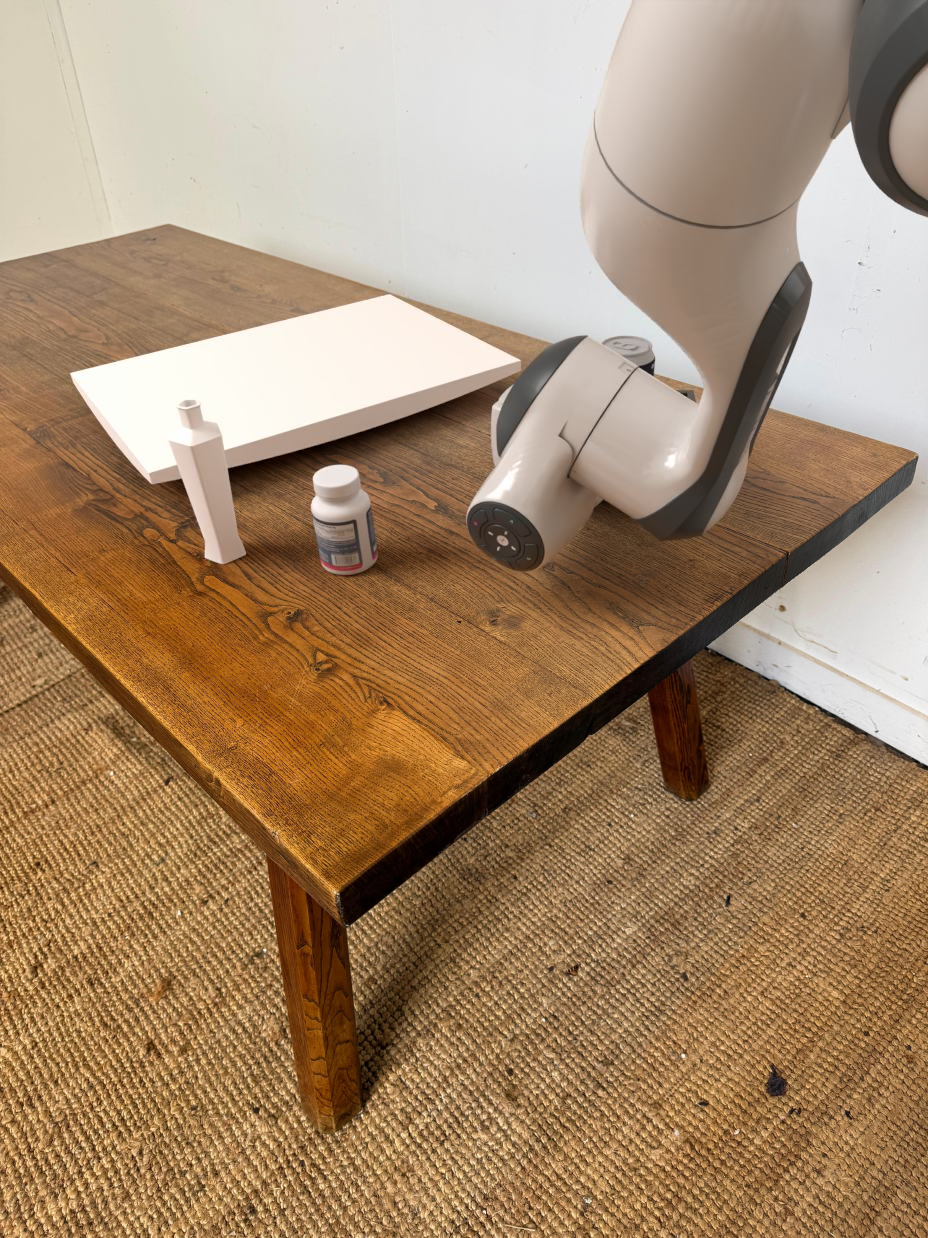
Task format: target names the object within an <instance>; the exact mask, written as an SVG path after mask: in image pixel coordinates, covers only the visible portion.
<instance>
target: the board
mask: <svg viewBox="0 0 928 1238" xmlns="http://www.w3.org/2000/svg"><path fill="white" fill-rule="evenodd" d="M521 371H522V360H521V359H519V358H517V357H515V356H513V355H512V354H510V353H507V352H505V351H503V350H501V349H500V348H498V347H496V346H493V345H491V344H489V343H487V342H485V341H484V340H482V339H479V338H478V337H476V336H474V335H472V334H470V333H468V332H466V331H463V330H462V329H460V328H458V327H455V326H454V325H451V324H450V323H449V322H445V321H444V320H442V319H440V318H438V317H435V316H434V315H432V314H430V313H428V312H426V311H425V310H422V309H420V308H418V307H416V306H414V305H412V304H410V303H408V302H407V301H405V300H402V299H400V298H398V297H396V296H394V295H392V294H390V293H389V294H385V295H380V296H377V297H372V298H369V299H365V300H364V299H363V300H361V301H356V302H352V303H348V304H343V305H340V306H337V307H332V308H328V309H324V310H320V311H316V312H312V313H308V314H304V315H299V316H296V317H295V316H294V317H291V318H287V319H284V320H279V321H275V322H272V323H271V322H270V323H268V324H263V325H259V326H255V327H251V328H247V329H242V330H239V331H235V332H231V333H227V334H223V335H222V334H221V335H219V336H214V337H210V338H206V339H202V340H199V341H195V342H191V343H186V344H182V345H178V346H174V347H169V348H166V349H161V350H158V351H154V352H150V353H147V354H146V353H145V354H141V355H138V356H133V357H129V358H126V359H125V358H124V359H121V360H118V361H113V362H110V363H105V364H101V365H97V366H93V367H89V368H85V369H80V370H77V371H74V372H69V374H70V377H71V380H72V382H73V384H74V386H75V388H76V389H77V391H78V393H79V395H80V396H81V397H82V398H83V400H84V401H85V403H86V405H87V406H88V408H89V409H90V411H91V412H92V414H93V415H94V417H95V418H96V419H97V421H98V422H99V424H100V425H101V426H102V428H103V429H104V431H105V432H106V433H107V434H108V436H109V438H111V440H112V441H113V443H115V445H116V446H117V447H118V449H119V451H120V452H121V453H123V455H124V456H125V457H126V458H127V460H128V461H129V462H130V463H131V464H132V465H133V467H134V468H135V469H136V470H137V471H138V472H139V473H140V474H141V475H142V477H144V478H145V479H146V480H147V481H148V482H149V484H151V485H156V484H161V483H167V482H171V481H176V480H180V479H181V480H182V477H181V474H180V471H179V469H178V466H177V463H176V460H175V458H174V455H173V452H172V449H171V447H170V444H169V441H168V438H169V437H170V436H171V435H172V434H174V433H175V432H176V431H177V430H178V429H179V428H180V427H181V426H182V423H181V420H180V416H179V412H178V409H177V408H176V407H175V405H176V404H177V403H179V402H180V401H181V400H183V399H195V398H198V399H199V400H200V402H201V405H200V408H201V412H202V416H203V420H204V421H210V422H216V423H217V424H218V426H219V429H220V431H221V434H222V439H223V445H224V451H225V457H226V463H227V469H230V468H234V467H239V466H243V465H246V464H247V465H248V464H251V463H255V462H259V461H262V460H266V459H271V458H274V457H278V456H282V455H286V454H289V453H294V452H297V451H300V450H304V449H307V448H311V447H314V446H318V445H321V444H326V443H329V442H332V441H336V440H338V439H341V438H346V437H348V436H352V435H355V434H357V433H360V432H365V431H367V430H370V429H373V428H376V427H379V426H382V425H385V424H388V423H391V422H394V421H397V420H400V419H403V418H406V417H409V416H411V415H414V414H417V413H420V412H423V411H425V410H428V409H430V408H434V407H436V406H439V405H441V404H444V403H446V402H447V403H448V402H449V401H453V400H454V399H457V398H459V397H462V396H464V395H467V394H470V393H471V392H474V391H477V390H480V389H481V388H484V387H487V386H489V385H491V384H494V383H496V382H499V381H502V380H503V379H505V378H508V377H510V376H512V375H514V374H517V373H519V372H521Z"/></svg>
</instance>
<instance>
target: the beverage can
mask: <svg viewBox="0 0 928 1238" xmlns="http://www.w3.org/2000/svg"><path fill="white" fill-rule="evenodd" d="M600 343H601V344H603V345H605V346H606V347H608V348H610V349H611V350H613V351H615V352H616V353H618V354H619V355H621V356H623V357H624V358H626V359H627V360H629V361H631V362H632V363H634V364H635V365H637V366H638V367H639V368H640V369H642V370H644V371H645V372H647V373H649V374H650V375H652V376H653V377H655V366H656V355H655V353H654V351H653V344H652V342H651V341H650V340H649V339H647V338H644V337H641V336H635V335H616V336H611V337H608V338H606V339H604V340H603V341H602V342H600Z"/></svg>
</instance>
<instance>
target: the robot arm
mask: <svg viewBox="0 0 928 1238" xmlns="http://www.w3.org/2000/svg"><path fill="white" fill-rule="evenodd" d="M849 124H850V125H851V130H852V135H853V140H854V144H855V146H856V150H857V152H858V155H859V158H860V161H861V164H862V166H863V167H864V169H865V171H866V173H867V175H868V177H869V178H870V179H871V181H872V182H873V184H875V186H876V187H877V188H878V189H879V190H880V191H881V192H882V193H883V194H884V195H885V196H886V197H887V198H889V199H890V200H892V201H893V202H894V203H895V204H897V205H899V206H901V207H902V208H904V209H906V210H908V211H909V212H912V213H914V214H917V215H920V216H922V217H925V218H928V0H631V3H630V6H629V8H628V10H627V13H626V15H625V18H624V21H623V23H622V25H621V28H620V31H619V33H618V36H617V39H616V42H615V45H614V47H613V49H612V53H611V56H610V58H609V62H608V64H607V67H606V71H605V73H604V77H603V80H602V84H601V87H600V90H599V93H598V97H597V101H596V103H595V107H594V111H593V115H592V118H591V122H590V126H589V130H588V133H587V138H586V141H585V146H584V151H583V156H582V161H581V167H580V175H579V185H578V187H579V189H578V191H579V192H578V197H579V198H578V199H579V211H580V212H579V213H580V219H581V225H582V230H583V234H584V237H585V241H586V242H587V245H588V247H589V249H590V251H591V254H592V256H593V257H594V259H595V262H596V263H597V264H598V266H599V268H600V269H601V270H602V272H603V273H604V275H605V276H606V277H607V279H608V280H609V281H610V282H611V283H612V285H613V286H614V287H615V288H616V290H618V291H619V292H620V293H621V294H622V295H623V296H624V297H625V298H626V299H628V300H629V301H630V302H631V303H632V304H633V305H634V306H635V307H636V308H638V309H639V310H640V311H641V312H642V313H643V314H644V315H645V316H646V317H648V318H649V319H650V320H651V321H652V322H653V323H654V324H655V325H657V327H659V329H661V330H662V331H663V332H664V333H665V334H666V335H667V336H668V337H669V338H670V339H671V340H672V341H673V342H674V343H675V344H676V345H677V346H678V347H679V349H680V350H681V351H682V352H683V353H684V354H685V355H686V357H687V358H688V359H689V360H690V362H691V363H692V364H693V366H694V367H695V369H696V371H697V372H698V374H699V376H700V378H701V381H702V384H703V390H702V393H701V396H700V400H699V403H698V402H697V401H696V402H694V401H692V400H690V399H689V398H687V397H685V396H684V395H682V394H681V393H679V392H677V391H676V390H677V389H674V388H672V386H670V385H667V383H665V382H663V381H661V380H660V379H658V378H656V377H655V376H654V377H653V376H652V375H650V374H649V373H647V372H645V371H644V370H642V369H640V368H639V367H638V366H637V365H635V364H634V363H632V362H631V361H629V360H627V359H626V358H624V357H623V356H621V355H619V354H618V353H616V352H615V351H613V350H611V349H610V348H608V347H606V346H605V345H603V344H601V343H602V342H599V341H598V340H596V339H594V338H591V337H590V336H589V335H588V334H585V335H584V334H583V335H575V336H571V337H567V338H565V339H562V340H560V341H557V342H554V343H552V344H551V345H548V346H547V347H545V348H544V349H543V350H542V351H540V353H539V354H538V355H537V356H536V357H535V358H534V359H533V360H532V361H531V362H530V363H529V364H528V365H527V367H526V368H525V369H524V370H523V371H522V372H521V373H520V375H519V376H518V378H517V379H516V380H515V382H514V383H513V384H511V386H509V387H508V388H507V389H506V390H505V391H504V392H503V393H502V394H501V395H500V396H499V398H498V401H496V402H495V403H494V404H493V405H492V406H491V414H490V415H491V417H490V444H491V453H492V460H493V465H494V468H493V469H492V470H491V472H490V473H489V474H488V475H487V477H486V478H485V480H484V481H483V483H482V484H481V485H480V487H479V488H478V490H477V492H476V493H475V495H474V497H473V498H472V500H471V502H470V504H469V505H468V507H467V508H468V509H467V512H466V516H465V523H466V528H467V532H468V534H469V536H470V538H471V540H472V542H473V543H474V545H475V546H476V547H477V548H478V549H479V550H480V551H481V552H482V553H483V554H484V555H485V556H487V557H488V558H490V559H491V560H492V561H494V562H495V563H497V564H498V565H500V566H502V567H503V568H506V569H509V570H512V571H514V572H520V573H521V572H522V573H527V572H533V571H537V570H539V569H540V568H543V567H544V566H546V565H547V564H548V563H550V562H551V561H552V560H553V559H555V557H557V556H558V555H559V554H560V553H561V552H562V551H563V550H564V549H565V548H566V547H567V546H568V545H569V544H570V543H571V542H572V541H573V540H574V539H575V538H576V537H577V535H578V534H579V533H580V532H581V530H582V529H583V528H584V526H585V525H586V524H587V522H588V521H589V519H590V518H591V516H592V514H593V512H594V508H595V507H597V506H598V505H599V504H600V503H602V502H601V501H602V500H603V499H604V500H605V501H607V502H606V503H608V504H609V505H611V506H613V507H614V508H616V509H618V510H619V511H621V512H622V513H624V514H625V515H627V516H629V518H630V520H632V521H633V522H634V523H636V524H637V525H638V526H639V527H641V528H642V529H643V530H644V531H646V532H647V533H649V534H650V536H653V537H654V538H655V539H657V540H658V541H659V542H671V541H672V542H673V541H682V540H689V539H693V538H698V537H702V536H703V535H704V533H705V532H707V531H710V529H712V528H713V527H714V526H715V525H717V524H718V522H719V521H720V520H721V519H722V518H723V517H724V516H725V514H726V513H727V512H728V511H729V509H730V508H731V506H733V503H734V502H735V500H736V499H737V496H738V495H739V492H740V490H741V488H742V487H743V484H744V481H745V477H746V473H747V470H748V464H749V462H748V461H750V460H749V459H750V458H751V455H752V452H753V450H754V445H755V442H756V440H757V437H758V435H759V432H760V431H761V428H762V425H763V423H764V421H765V418H766V416H767V413H768V411H769V409H770V407H771V405H772V401H774V397H775V395H776V393H777V391H778V388H779V387H780V384H781V381H782V379H783V377H784V374H785V373H786V370H787V368H788V366H789V362H790V360H791V358H792V356H793V353H794V350H795V348H796V345H797V343H798V340H799V337H800V335H801V331H802V329H803V326H804V325H805V324H804V323H805V321H806V318H807V315H808V311H809V307H810V303H811V297H812V290H813V281H812V278H811V276H810V274H809V272H808V269H807V267H806V265H805V263H804V261H802V259H801V255H800V250H799V244H798V243H799V242H798V233H797V232H798V229H797V228H798V227H797V222H798V221H797V219H798V210H799V205H800V202H801V199H802V197H803V195H804V193H805V191H806V189H807V188H808V186H809V185H810V183H811V181H812V179H813V177H814V176H815V174H816V172H817V170H818V169H819V167H820V166H821V164H822V162H823V159H824V158H825V156H826V155H827V152H828V151H829V149H830V147H831V145H832V143H833V141H834V140H836V139H837V138H838V137H839V135H840V134H841V133H842V132H843V131H844V129H845V128H846V127H847V126H848V125H849Z"/></svg>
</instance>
